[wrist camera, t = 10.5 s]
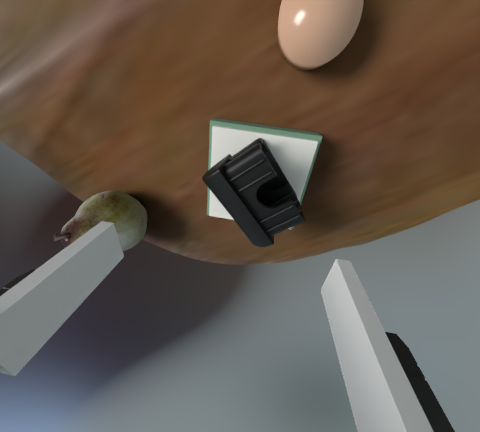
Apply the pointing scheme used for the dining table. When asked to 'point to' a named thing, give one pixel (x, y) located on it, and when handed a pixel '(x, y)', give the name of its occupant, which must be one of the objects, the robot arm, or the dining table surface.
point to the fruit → (108, 218)
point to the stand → (280, 144)
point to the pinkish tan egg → (316, 30)
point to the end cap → (255, 193)
